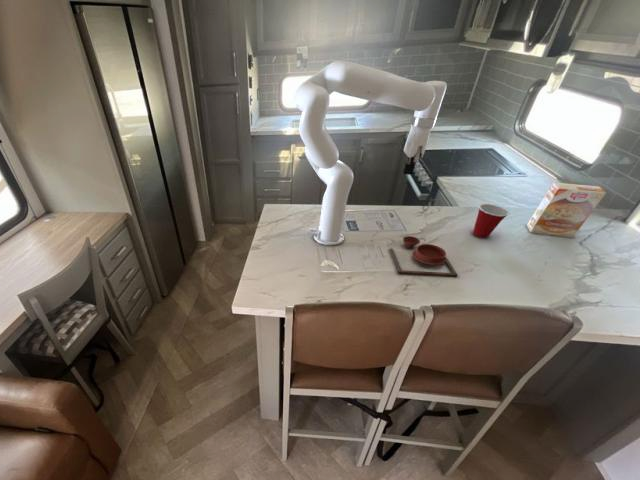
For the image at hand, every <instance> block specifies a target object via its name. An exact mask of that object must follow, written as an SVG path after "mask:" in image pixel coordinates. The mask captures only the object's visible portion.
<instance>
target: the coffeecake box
mask: <svg viewBox="0 0 640 480" xmlns="http://www.w3.org/2000/svg"><path fill="white" fill-rule="evenodd" d="M606 194H607V192H606V191H605V190H604V189H603V188H602V187H601V186H600V185H599V186H598V185H587V184H576V183H564V182H554V181H553V183H552V184H551V186H550V187H549V189H548V190H547V192H546V194H545V195H544V197H543V199H542V200H541V201H540V203H539V204H538V207H537V208H536V210H535V211H534V213H533V215H532V216H531V217H530V219H529V221H528V223H527V224H526V226H527V228H528V230H529V232H530V233H533V234H540V235H549V236H557V237H565V238H574V237H575V235H576V234H577V233H578V231H579V230H580V229H581V227H582V226H583V225H584V224H585V222H586V221H587V219H588V218H589V217H590V215H591V214H592V213H593V211H594V210H595V209H596V208H597V206H598V205H599V203H600V202H601V201H602V200H603V198H604V197H605V196H606Z"/></svg>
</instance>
